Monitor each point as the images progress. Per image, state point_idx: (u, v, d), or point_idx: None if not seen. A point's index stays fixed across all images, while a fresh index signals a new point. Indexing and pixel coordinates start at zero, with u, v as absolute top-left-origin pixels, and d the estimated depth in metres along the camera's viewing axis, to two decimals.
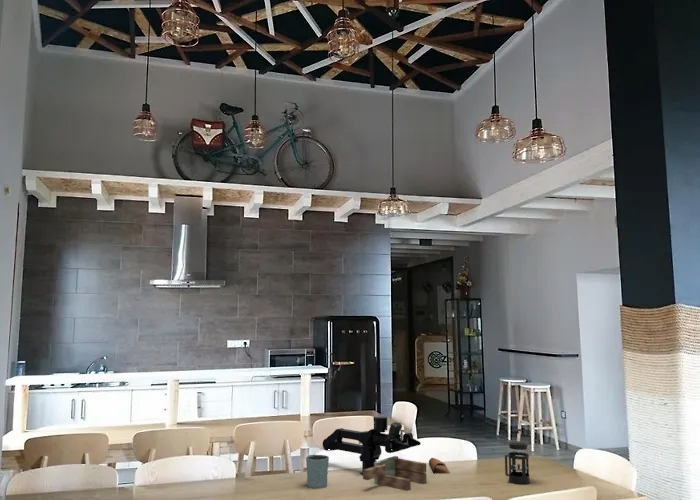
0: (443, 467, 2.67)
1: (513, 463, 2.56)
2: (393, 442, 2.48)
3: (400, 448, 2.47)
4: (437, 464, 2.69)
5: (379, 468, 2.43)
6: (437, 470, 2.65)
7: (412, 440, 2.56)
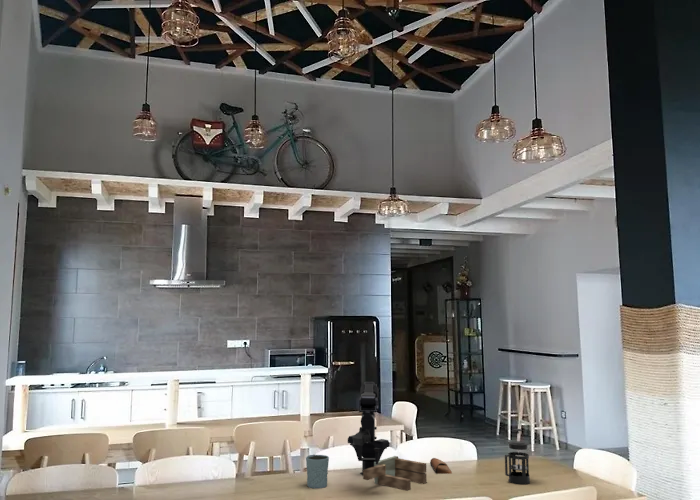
0: (445, 468, 2.67)
1: (513, 463, 2.56)
2: None
3: None
4: (439, 464, 2.69)
5: (379, 468, 2.43)
6: (439, 470, 2.65)
7: None
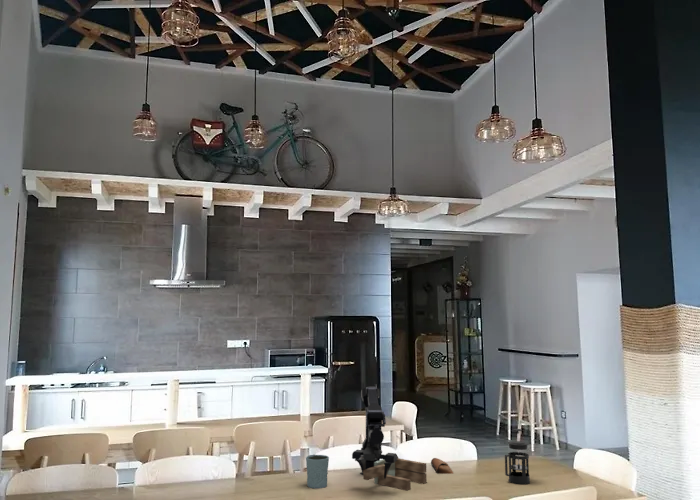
0: (446, 468, 2.67)
1: (513, 463, 2.56)
2: None
3: None
4: None
5: (379, 468, 2.43)
6: (440, 470, 2.65)
7: None
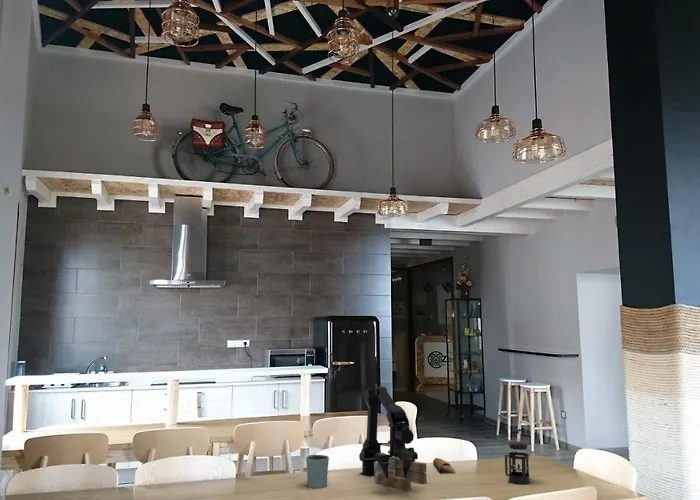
0: (449, 468, 2.67)
1: (513, 463, 2.56)
2: (382, 463, 2.33)
3: (382, 468, 2.36)
4: (443, 464, 2.69)
5: None
6: (443, 470, 2.65)
7: (406, 466, 2.39)
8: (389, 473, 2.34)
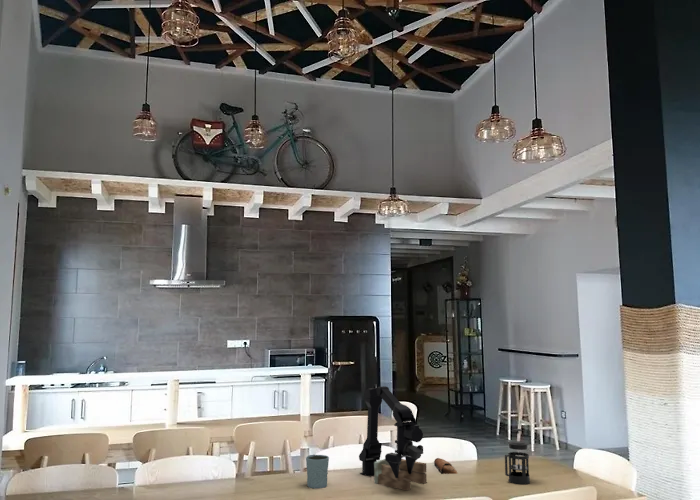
0: (450, 468, 2.67)
1: (513, 463, 2.56)
2: (395, 463, 2.34)
3: (393, 468, 2.36)
4: None
5: None
6: (444, 470, 2.65)
7: (411, 463, 2.43)
8: (400, 472, 2.36)
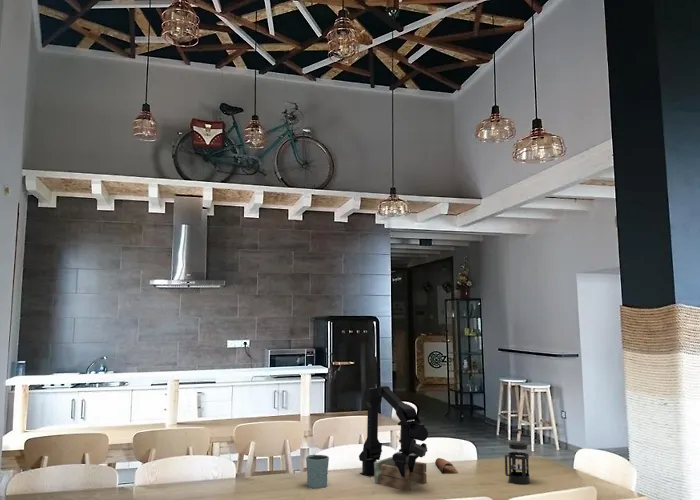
0: (451, 468, 2.67)
1: (513, 463, 2.56)
2: (403, 462, 2.35)
3: (399, 467, 2.37)
4: None
5: None
6: (445, 470, 2.65)
7: (412, 462, 2.46)
8: (406, 471, 2.38)
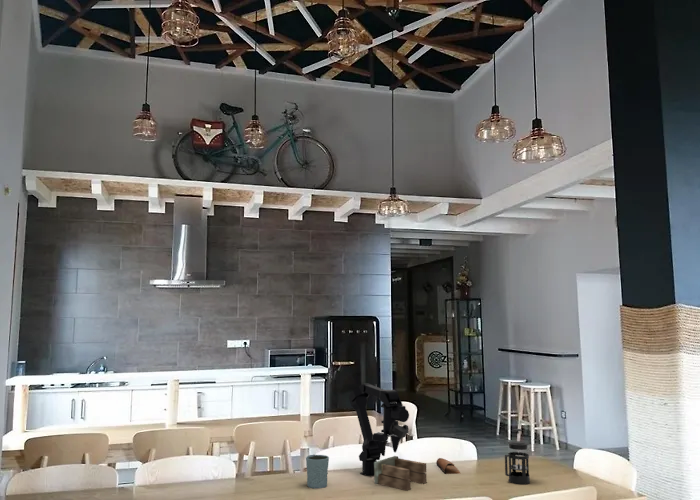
0: (453, 468, 2.67)
1: (513, 463, 2.56)
2: None
3: (379, 447, 2.49)
4: None
5: None
6: (447, 470, 2.64)
7: (396, 442, 2.56)
8: (406, 471, 2.38)
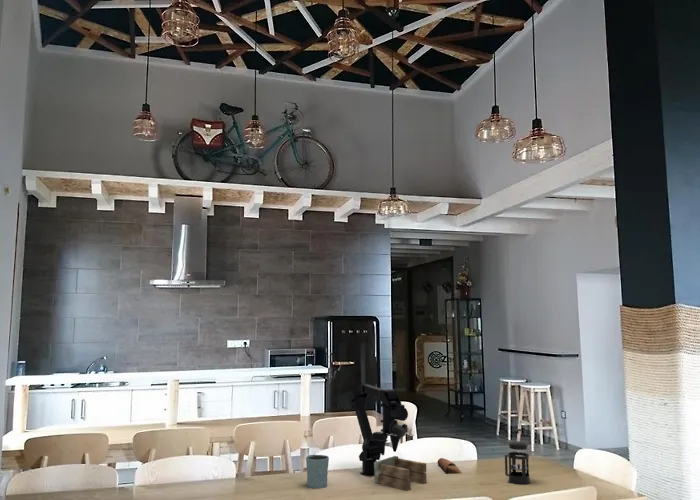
0: (454, 468, 2.67)
1: (513, 463, 2.56)
2: (381, 441, 2.47)
3: (379, 446, 2.49)
4: (448, 464, 2.69)
5: None
6: (449, 470, 2.64)
7: (396, 442, 2.56)
8: (406, 471, 2.38)
